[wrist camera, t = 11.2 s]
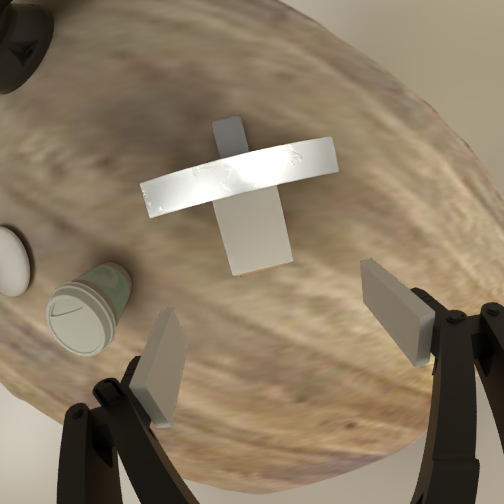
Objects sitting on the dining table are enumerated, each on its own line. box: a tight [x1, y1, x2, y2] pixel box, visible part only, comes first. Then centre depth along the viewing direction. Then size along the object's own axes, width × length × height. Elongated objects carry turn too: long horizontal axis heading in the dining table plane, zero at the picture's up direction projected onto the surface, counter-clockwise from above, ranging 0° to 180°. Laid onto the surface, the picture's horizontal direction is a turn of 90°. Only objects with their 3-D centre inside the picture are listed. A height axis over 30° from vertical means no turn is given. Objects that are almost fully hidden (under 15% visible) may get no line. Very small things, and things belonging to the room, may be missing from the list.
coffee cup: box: [46, 262, 132, 356], centre depth 31 cm, size 8×8×12 cm
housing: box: [140, 136, 339, 218], centre depth 28 cm, size 3×21×11 cm, turn 103°
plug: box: [211, 115, 293, 277], centre depth 30 cm, size 16×6×8 cm, turn 14°
